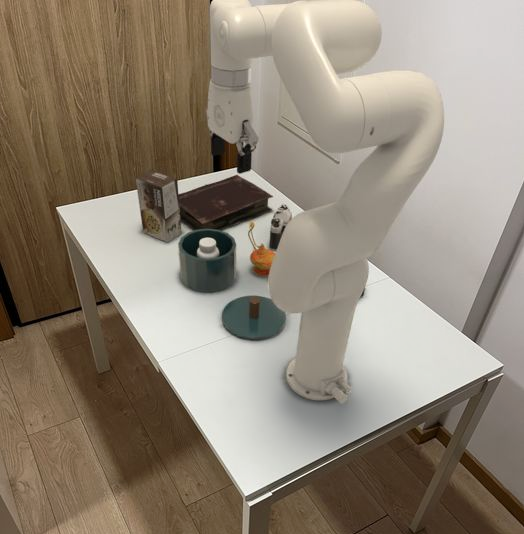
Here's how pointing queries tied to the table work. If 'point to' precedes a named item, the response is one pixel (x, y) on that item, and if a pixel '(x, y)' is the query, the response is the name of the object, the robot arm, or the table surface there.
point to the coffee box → (159, 205)
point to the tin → (207, 261)
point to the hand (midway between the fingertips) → (230, 162)
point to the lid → (253, 317)
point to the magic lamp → (260, 257)
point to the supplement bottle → (207, 249)
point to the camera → (279, 225)
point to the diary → (222, 204)
